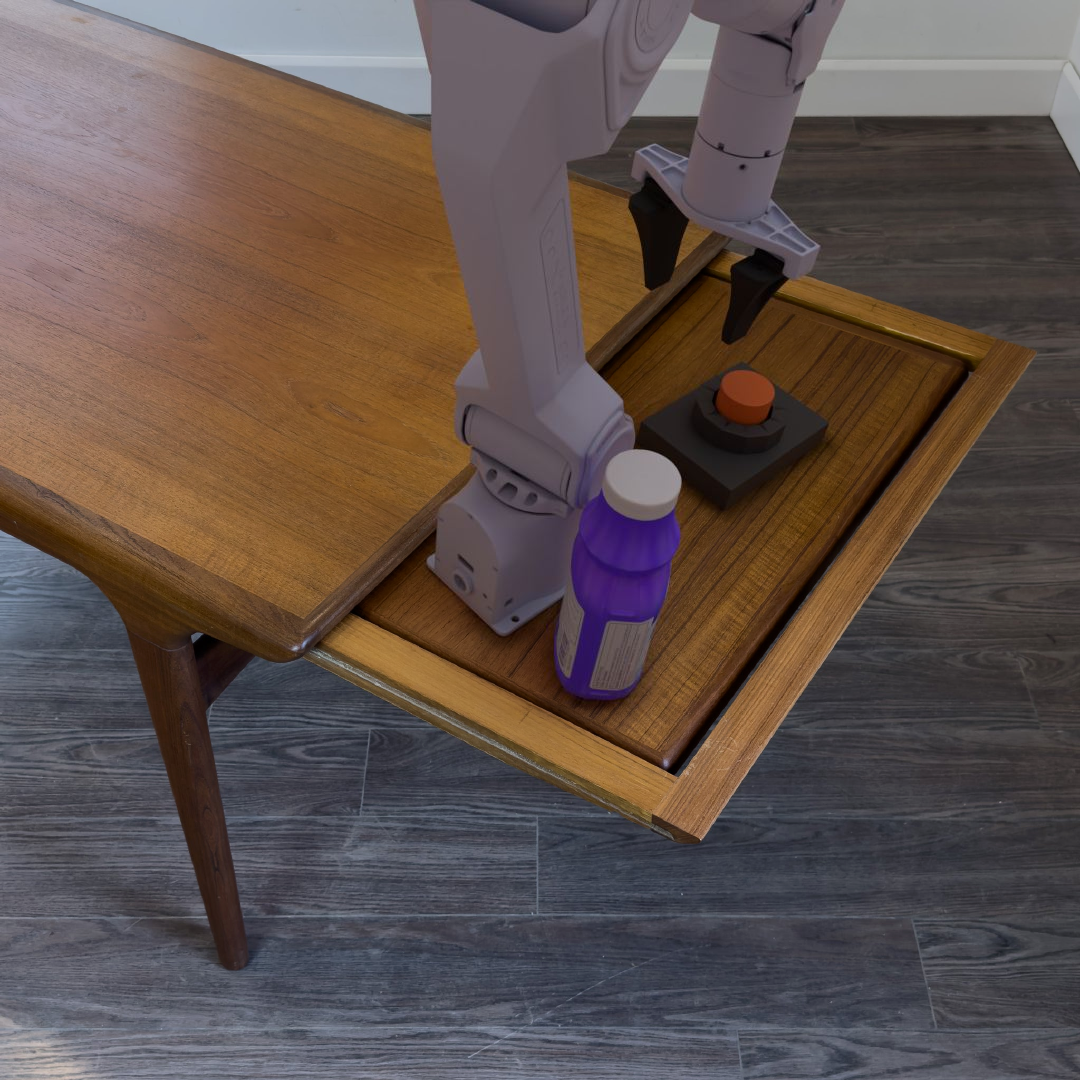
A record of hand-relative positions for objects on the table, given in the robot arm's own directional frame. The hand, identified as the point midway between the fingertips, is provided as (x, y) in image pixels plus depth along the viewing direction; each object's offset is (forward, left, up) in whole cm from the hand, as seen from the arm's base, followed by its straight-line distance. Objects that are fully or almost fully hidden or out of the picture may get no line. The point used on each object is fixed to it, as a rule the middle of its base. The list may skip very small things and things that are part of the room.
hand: (694, 310), depth 79 cm
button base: (+2, -5, -10) cm, 12 cm away
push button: (+2, -5, -7) cm, 9 cm away
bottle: (-21, -13, -11) cm, 27 cm away
